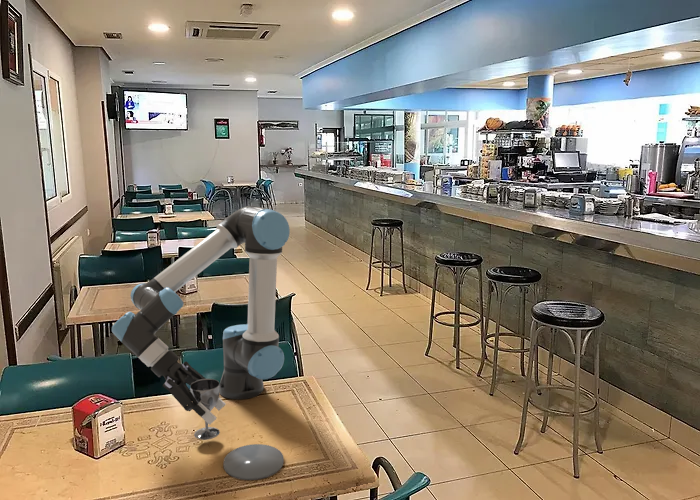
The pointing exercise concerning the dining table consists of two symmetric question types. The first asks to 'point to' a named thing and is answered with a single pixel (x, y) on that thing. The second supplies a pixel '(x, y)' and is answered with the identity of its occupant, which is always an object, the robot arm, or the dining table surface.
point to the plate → (253, 462)
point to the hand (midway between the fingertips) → (217, 414)
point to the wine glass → (206, 403)
